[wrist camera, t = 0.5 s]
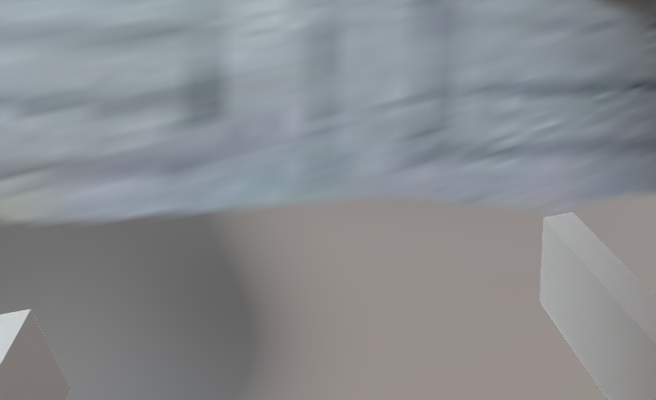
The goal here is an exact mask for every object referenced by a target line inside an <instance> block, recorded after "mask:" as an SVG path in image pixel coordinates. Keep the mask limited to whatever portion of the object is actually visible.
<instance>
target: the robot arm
mask: <svg viewBox="0 0 656 400" xmlns="http://www.w3.org/2000/svg"><path fill="white" fill-rule="evenodd" d="M541 263H542V264H541V283H540V303H541V305H542V306H543V308H544V309H545V310H546V312H547V313H548V315H549V316H550V318H551V319H552V321H553V322H554V323H555V325H556V326H557V328H558V329H559V331H560V332H561V333H562V335H563V336H564V338H565V339H566V341H567V342H568V343H569V345H570V347H571V348H572V349H573V351H574V352H575V353H576V355H577V357H578V358H579V359H580V361H581V362H582V364H583V365H584V367H585V368H586V370H587V371H588V372H589V374H590V375H591V377H592V378H593V380H594V381H595V382H596V384H597V385H598V387H599V388H600V390H601V391H602V392H603V394H604V396H605V397H606V398H607V400H656V296H655V294H654V293H652V291H651V290H650V289H649V288H647V287H646V285H645V284H643V283H642V282H641V280H640V279H638V277H636V275H634V273H633V272H632V271H631V270H630V269H629V268H627V266H626V265H625V264H624V263H623V262H621V261H620V259H618V257H617V256H616V255H615V254H614V253H613V252H612V251H611V250H610V249H609V248H608V247H607V246H606V245H605V244H604V243H603V242H602V241H601V240H600V239H599V238H598V237H597V236H596V235H595V234H594V233H593V232H592V231H591V230H590V229H589V228H588V227H587V226H586V225H585V224H584V223H583V222H582V221H581V220H580V219H579V218H578V217H577V216H576V215H575V214H573V212H572V213H566V214H560V215H555V216H549V217H544V219H543V240H542V261H541ZM69 390H70V386H69V384H68V382H67V380H66V378H65V376H64V374H63V372H62V370H61V368H60V367H59V364H58V362H57V360H56V358H55V356H54V354H53V352H52V351H51V348H50V346H49V344H48V342H47V340H46V338H45V337H44V334H43V332H42V330H41V328H40V327H39V324H38V322H37V320H36V318H35V316H34V314H33V312H32V310H31V309H29V310H23V311H18V312H13V313H7V314H1V315H0V400H66V397H67V395H68V392H69Z"/></svg>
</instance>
